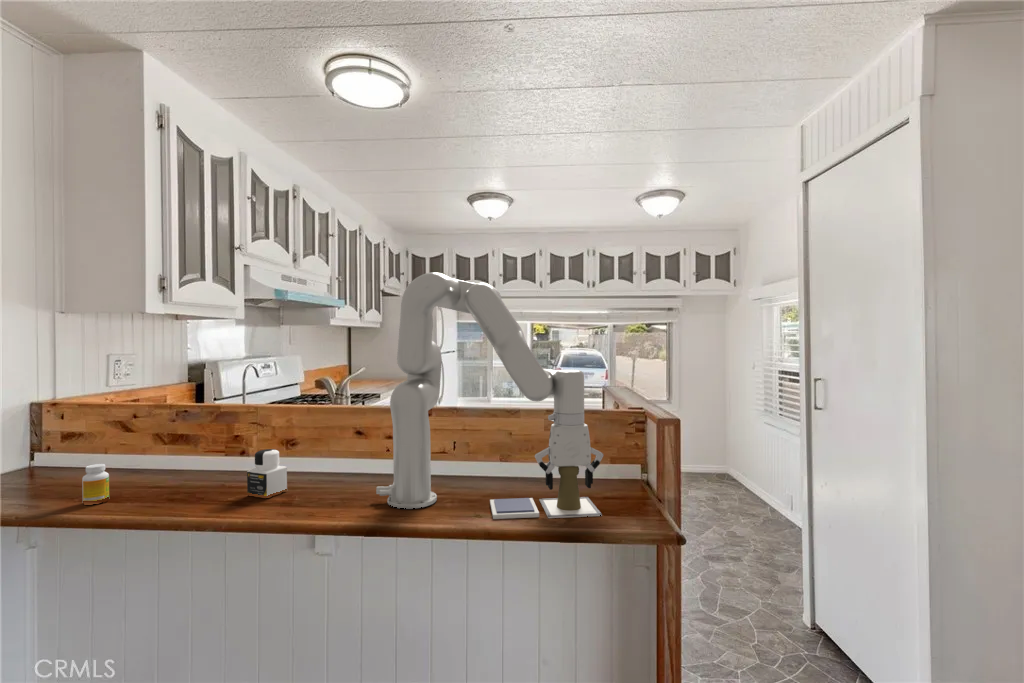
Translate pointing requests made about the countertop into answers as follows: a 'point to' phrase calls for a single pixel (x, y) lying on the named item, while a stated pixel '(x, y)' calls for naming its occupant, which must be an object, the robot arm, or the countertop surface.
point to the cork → (568, 489)
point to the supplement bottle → (95, 483)
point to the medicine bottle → (267, 474)
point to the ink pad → (513, 508)
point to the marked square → (584, 511)
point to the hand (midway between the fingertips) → (569, 487)
